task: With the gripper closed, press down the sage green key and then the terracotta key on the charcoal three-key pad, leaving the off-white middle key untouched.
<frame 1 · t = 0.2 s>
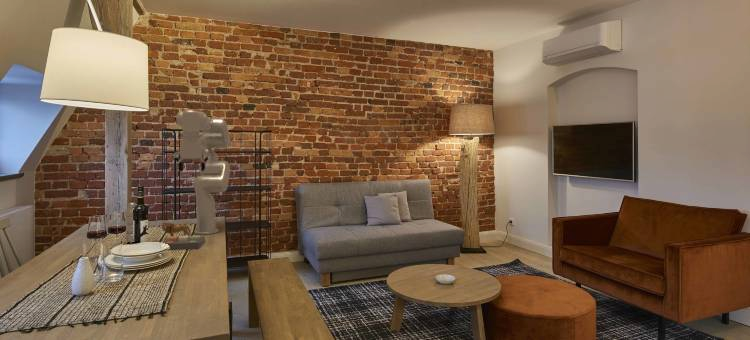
hand: (192, 170, 206), 36 cm above the table, tool pointing down, fingers open, 9 cm apart
terracotta key: (172, 239, 202), point 3 cm above the table, slide at 0.0 cm
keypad: (183, 246, 202), on the table
sage key: (195, 238, 204), point 3 cm above the table, slide at 0.0 cm
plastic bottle: (133, 243, 209), on the table
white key: (184, 239, 203), point 3 cm above the table, slide at 0.0 cm
lion figurine: (177, 238, 220), on the table
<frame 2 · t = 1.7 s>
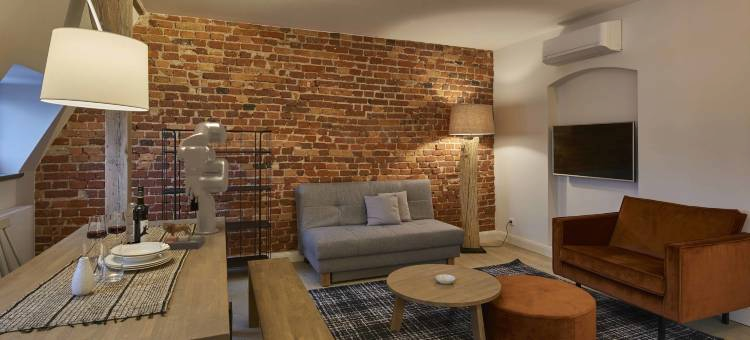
hand: (194, 210, 203), 17 cm above the table, tool pointing down, fingers closed
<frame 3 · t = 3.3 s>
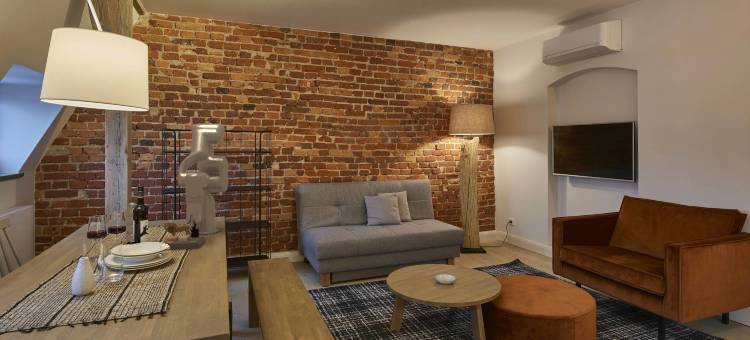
hand: (195, 237, 203), 4 cm above the table, tool pointing down, fingers closed
sage key: (195, 239, 204), point 3 cm above the table, slide at 0.4 cm, touching gripper
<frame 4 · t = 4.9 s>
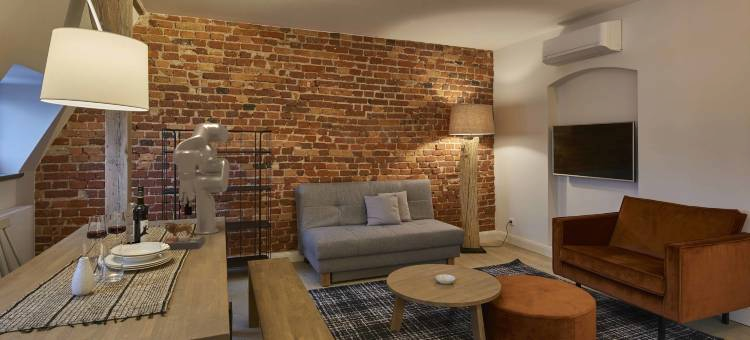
hand: (188, 214, 202), 15 cm above the table, tool pointing down, fingers closed
sage key: (195, 240, 204), point 2 cm above the table, slide at 0.9 cm
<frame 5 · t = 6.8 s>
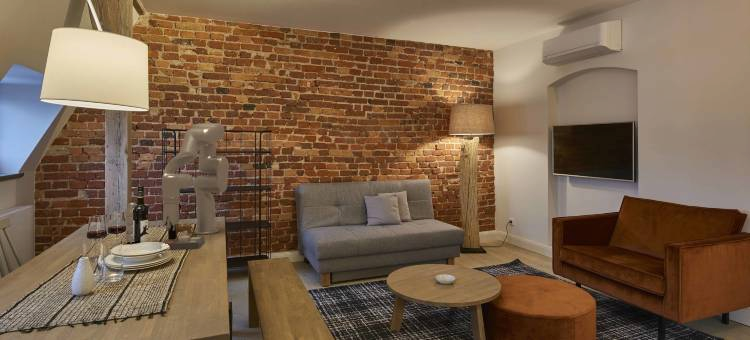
hand: (172, 238, 202), 4 cm above the table, tool pointing down, fingers closed
terracotta key: (172, 241, 202), point 2 cm above the table, slide at 0.9 cm
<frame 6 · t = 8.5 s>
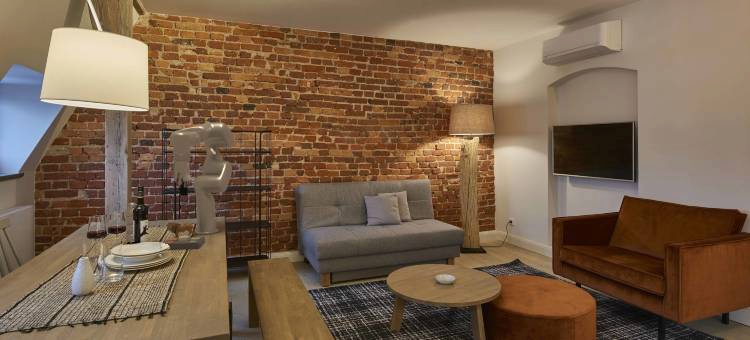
hand: (183, 195, 207), 24 cm above the table, tool pointing down, fingers closed
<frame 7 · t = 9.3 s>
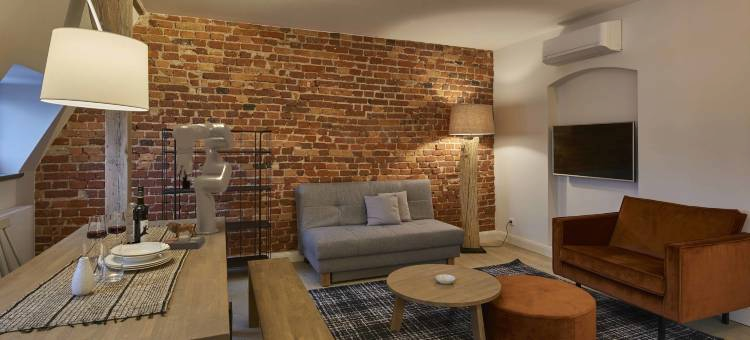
hand: (186, 188, 207), 27 cm above the table, tool pointing down, fingers closed
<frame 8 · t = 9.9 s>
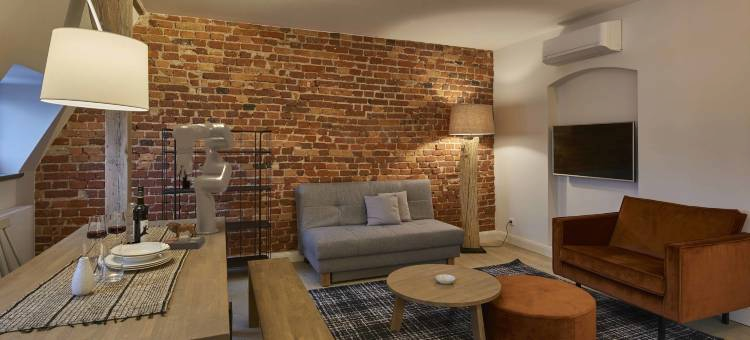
hand: (186, 188, 207), 27 cm above the table, tool pointing down, fingers closed
at the end: sage key slide at 0.9 cm; terracotta key slide at 0.9 cm; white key slide at 0.0 cm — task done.
